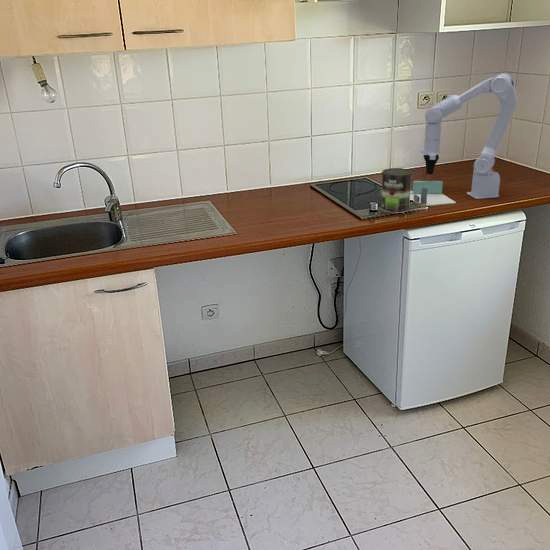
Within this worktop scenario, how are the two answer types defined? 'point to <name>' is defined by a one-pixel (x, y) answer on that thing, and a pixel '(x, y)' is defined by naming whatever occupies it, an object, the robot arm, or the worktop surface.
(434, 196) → the base board
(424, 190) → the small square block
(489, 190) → the robot arm
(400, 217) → the worktop surface
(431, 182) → the gate
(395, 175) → the coffee can
